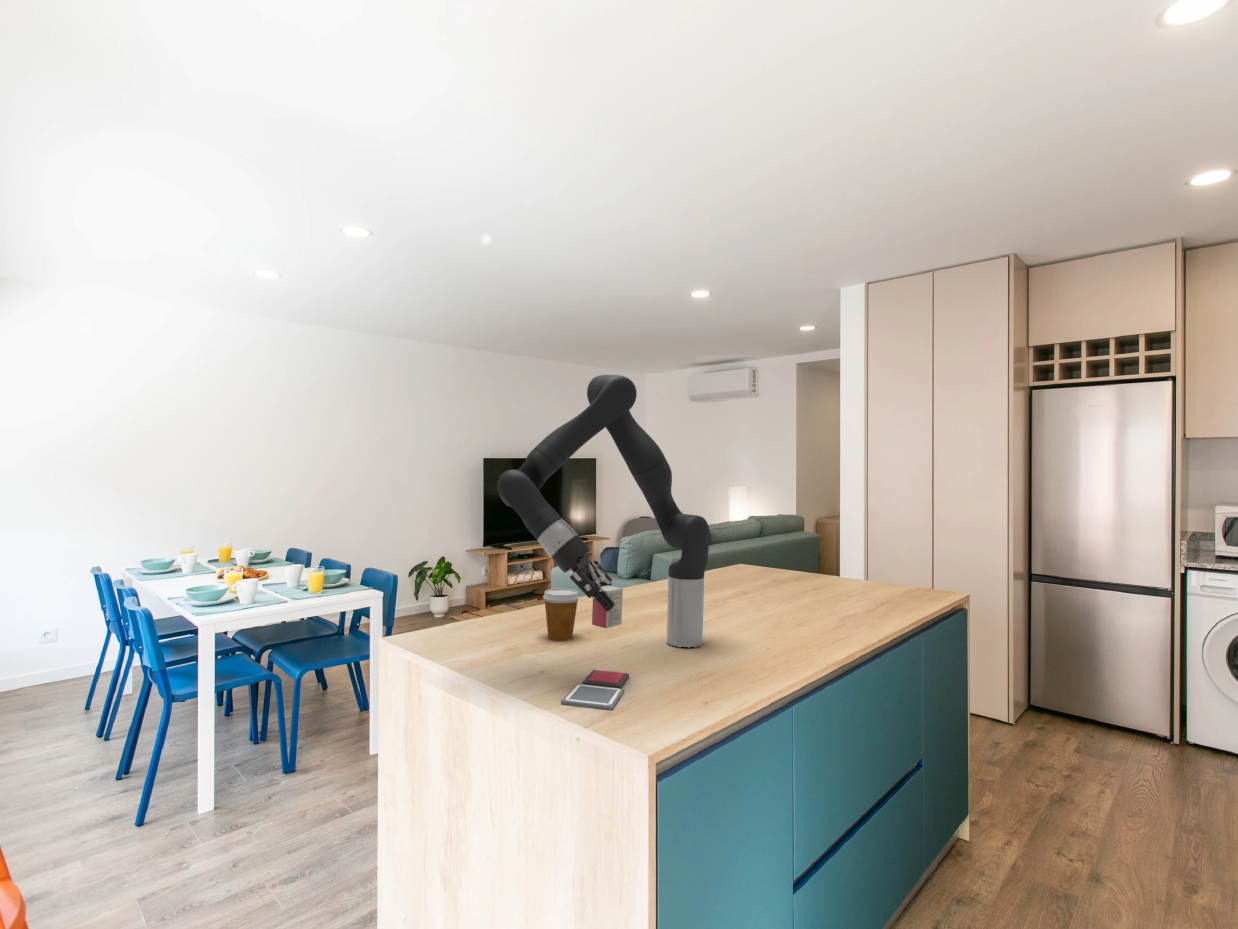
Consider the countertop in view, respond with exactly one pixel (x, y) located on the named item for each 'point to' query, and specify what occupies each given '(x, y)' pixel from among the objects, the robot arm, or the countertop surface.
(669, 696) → the countertop surface
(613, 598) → the small box
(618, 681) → the ink pad
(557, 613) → the disposable coffee cup
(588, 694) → the board
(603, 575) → the robot arm
